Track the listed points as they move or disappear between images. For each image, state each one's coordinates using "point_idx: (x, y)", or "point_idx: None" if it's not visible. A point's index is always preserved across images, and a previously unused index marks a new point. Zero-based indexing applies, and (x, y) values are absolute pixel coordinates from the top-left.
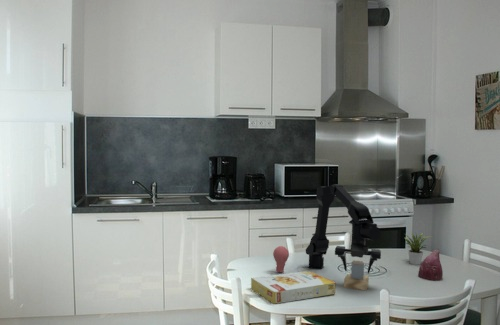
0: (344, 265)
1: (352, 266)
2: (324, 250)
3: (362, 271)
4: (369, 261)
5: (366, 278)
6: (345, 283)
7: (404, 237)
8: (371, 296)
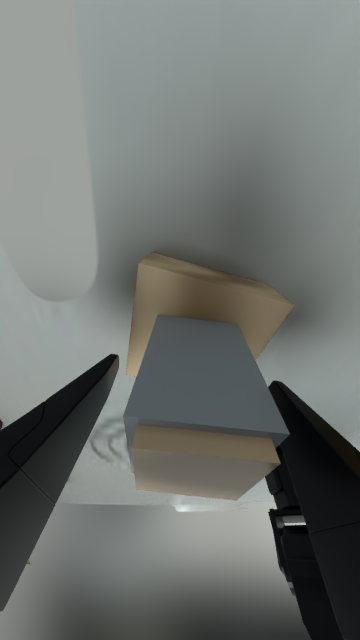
0: (327, 428)
1: (266, 404)
2: (294, 538)
3: (156, 353)
4: (29, 491)
5: (137, 338)
6: (271, 291)
7: (29, 563)
8: (115, 93)
